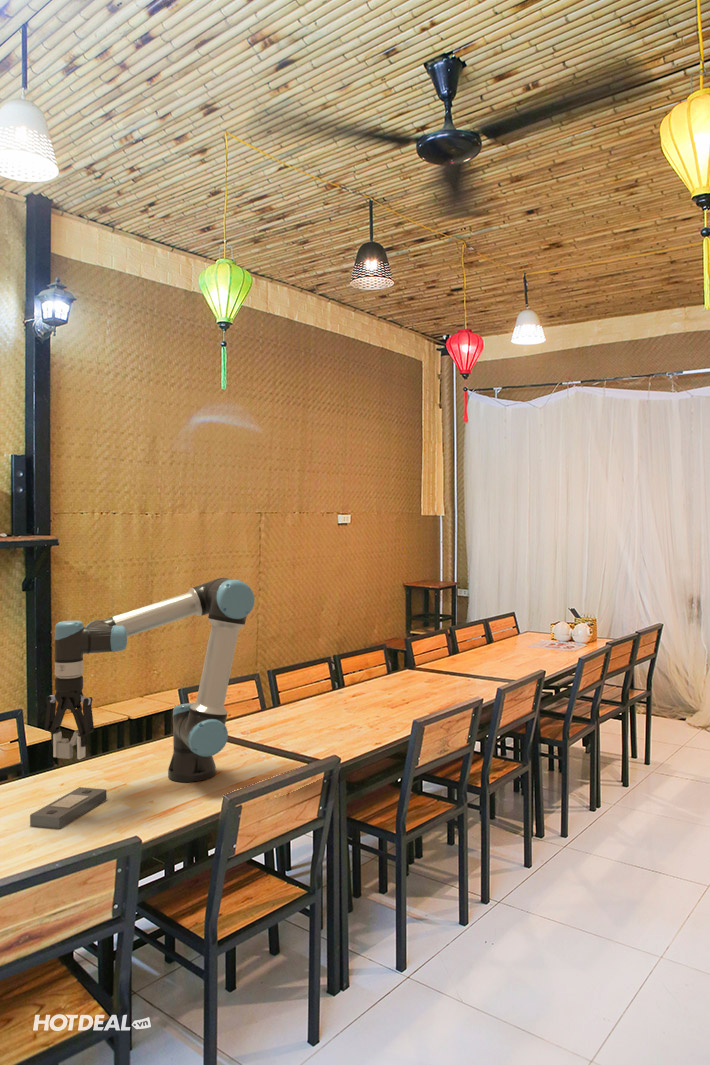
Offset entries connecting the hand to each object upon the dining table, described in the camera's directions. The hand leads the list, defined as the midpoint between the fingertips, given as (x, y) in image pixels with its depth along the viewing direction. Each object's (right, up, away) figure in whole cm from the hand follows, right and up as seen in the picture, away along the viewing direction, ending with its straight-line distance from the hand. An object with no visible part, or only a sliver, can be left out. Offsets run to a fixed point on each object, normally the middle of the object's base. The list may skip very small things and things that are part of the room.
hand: (69, 756), depth 210 cm
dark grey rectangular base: (+1, -15, -1) cm, 15 cm away
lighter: (0, 0, 0) cm, 0 cm away
